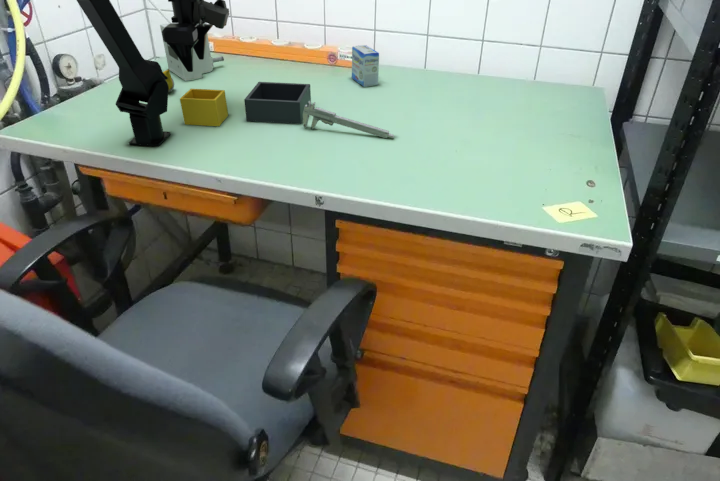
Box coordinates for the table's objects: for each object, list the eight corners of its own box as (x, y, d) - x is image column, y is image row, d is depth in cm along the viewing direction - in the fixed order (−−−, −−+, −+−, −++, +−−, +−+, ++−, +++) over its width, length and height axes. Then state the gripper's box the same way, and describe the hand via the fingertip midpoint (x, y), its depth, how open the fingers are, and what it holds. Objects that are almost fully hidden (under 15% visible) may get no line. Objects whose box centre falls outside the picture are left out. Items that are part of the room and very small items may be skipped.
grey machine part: (168, 69, 150) (157, 13, 142) (214, 61, 157) (207, 7, 149) (185, 81, 142) (174, 22, 134) (233, 71, 149) (226, 15, 141)
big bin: (301, 124, 119) (299, 102, 116) (246, 121, 120) (244, 99, 118) (311, 104, 129) (310, 84, 126) (260, 102, 130) (258, 81, 127)
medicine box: (351, 78, 145) (351, 46, 140) (365, 76, 147) (366, 44, 142) (363, 87, 139) (364, 54, 134) (378, 85, 141) (379, 52, 136)
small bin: (219, 126, 118) (215, 100, 114) (184, 124, 119) (179, 98, 115) (228, 115, 123) (224, 90, 120) (195, 113, 124) (190, 88, 120)
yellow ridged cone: (174, 88, 139) (183, 68, 131) (164, 102, 137) (173, 83, 129) (155, 76, 137) (163, 55, 129) (145, 90, 135) (153, 70, 127)
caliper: (303, 128, 117) (301, 101, 114) (305, 126, 118) (303, 99, 115) (393, 139, 113) (394, 111, 109) (394, 137, 114) (395, 109, 110)
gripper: (211, -2, 102) (222, 79, 110) (232, -18, 117) (240, 54, 126) (153, -3, 102) (169, 78, 110) (181, -19, 117) (193, 53, 126)
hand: (196, 65), depth 118 cm, fingers open, 9 cm apart
